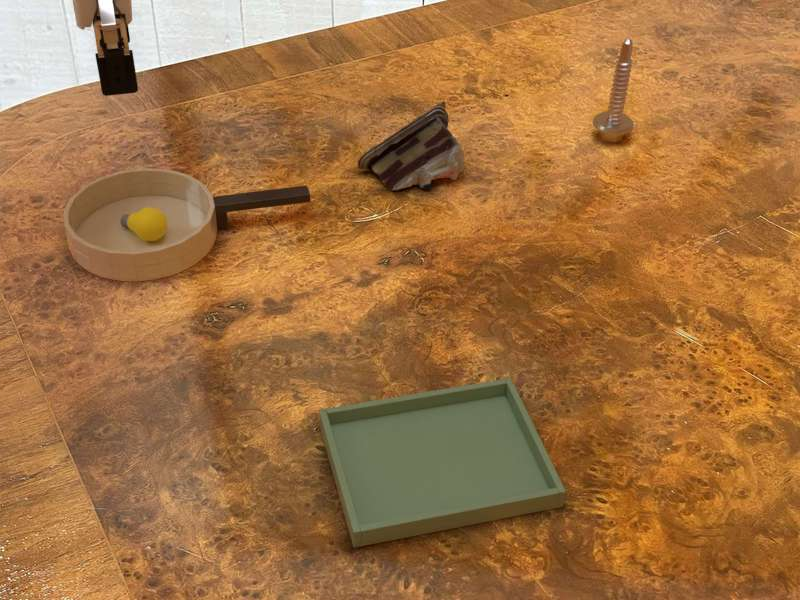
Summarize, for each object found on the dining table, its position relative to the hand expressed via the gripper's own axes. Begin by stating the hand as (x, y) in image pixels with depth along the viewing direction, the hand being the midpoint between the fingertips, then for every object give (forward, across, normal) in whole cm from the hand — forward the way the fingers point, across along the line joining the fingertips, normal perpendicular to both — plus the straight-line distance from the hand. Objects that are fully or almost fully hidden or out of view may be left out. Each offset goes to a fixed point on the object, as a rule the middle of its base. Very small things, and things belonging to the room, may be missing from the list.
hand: (117, 67), depth 101 cm
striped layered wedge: (+19, -3, +31) cm, 36 cm away
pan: (+18, +2, 0) cm, 19 cm away
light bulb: (+18, +2, 0) cm, 18 cm away
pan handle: (+18, +2, +12) cm, 22 cm away
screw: (+19, -6, +56) cm, 59 cm away
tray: (+18, +39, +21) cm, 48 cm away
